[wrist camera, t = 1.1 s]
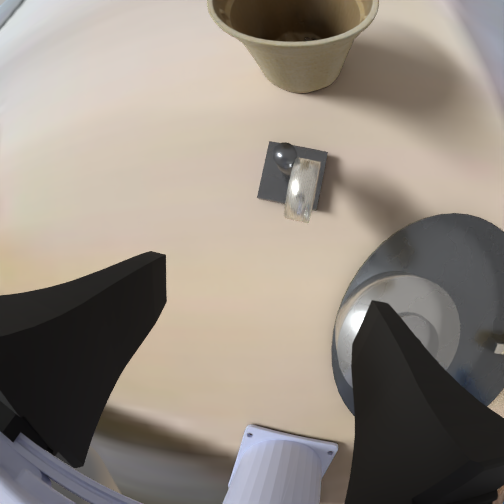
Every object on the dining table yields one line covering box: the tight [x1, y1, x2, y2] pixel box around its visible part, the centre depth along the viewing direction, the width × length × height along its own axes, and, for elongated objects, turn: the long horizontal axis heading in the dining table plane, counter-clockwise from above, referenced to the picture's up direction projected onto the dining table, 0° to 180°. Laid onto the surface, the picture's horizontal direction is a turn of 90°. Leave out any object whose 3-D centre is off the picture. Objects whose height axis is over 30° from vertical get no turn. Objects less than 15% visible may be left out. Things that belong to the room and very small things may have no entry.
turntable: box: [331, 213, 504, 416], centre depth 16 cm, size 18×21×4 cm
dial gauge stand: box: [257, 141, 328, 223], centre depth 17 cm, size 5×4×7 cm
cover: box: [335, 271, 460, 388], centre depth 16 cm, size 8×8×4 cm
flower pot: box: [207, 0, 379, 93], centre depth 15 cm, size 9×9×9 cm
